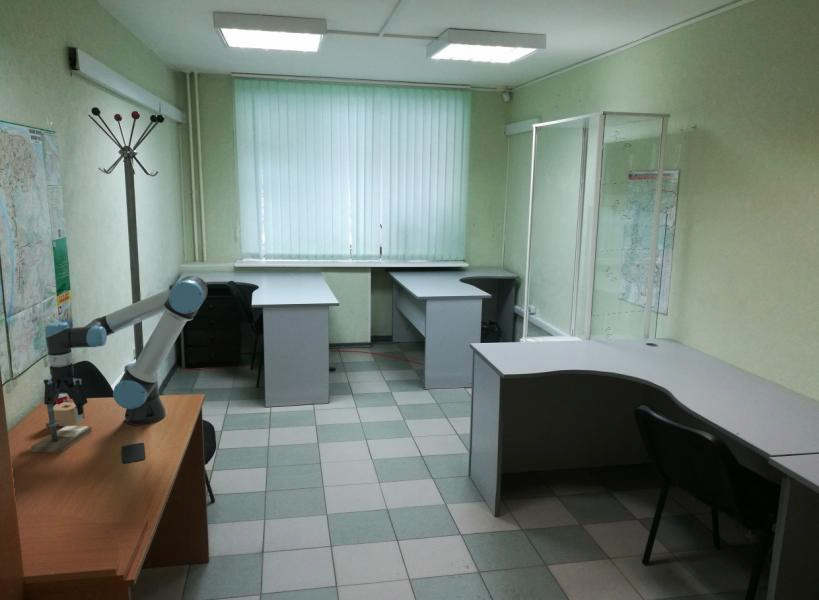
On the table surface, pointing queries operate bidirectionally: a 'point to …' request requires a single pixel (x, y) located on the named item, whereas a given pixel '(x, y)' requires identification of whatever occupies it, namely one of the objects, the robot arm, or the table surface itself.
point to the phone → (133, 453)
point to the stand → (59, 435)
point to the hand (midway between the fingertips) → (68, 422)
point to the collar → (66, 414)
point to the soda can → (63, 398)
